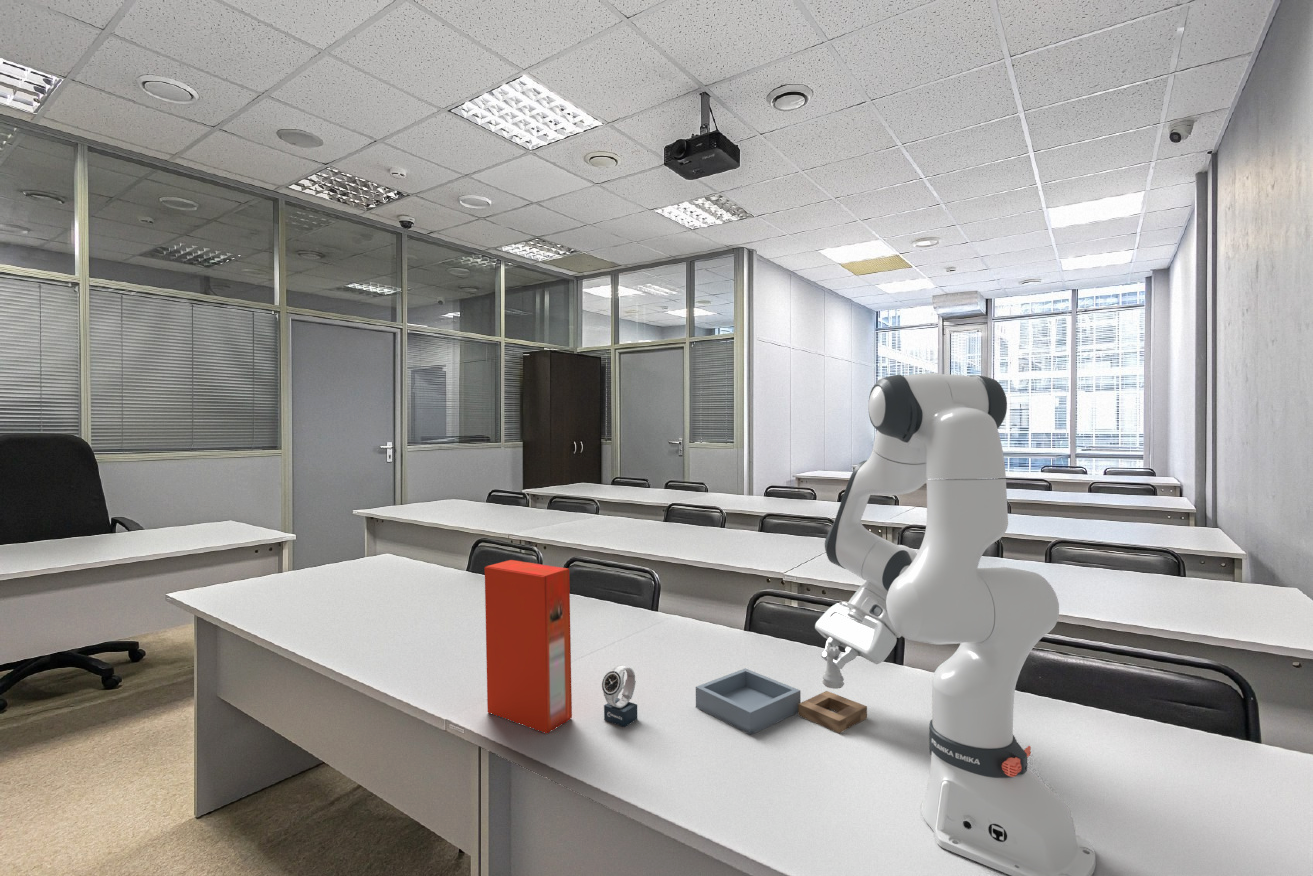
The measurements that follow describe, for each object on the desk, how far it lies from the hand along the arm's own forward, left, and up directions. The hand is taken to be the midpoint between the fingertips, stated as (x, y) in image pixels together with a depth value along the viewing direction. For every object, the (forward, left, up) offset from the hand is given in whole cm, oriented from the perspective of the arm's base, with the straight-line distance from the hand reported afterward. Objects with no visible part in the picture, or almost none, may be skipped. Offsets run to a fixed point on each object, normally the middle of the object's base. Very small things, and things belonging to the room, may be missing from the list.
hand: (830, 662), depth 127 cm
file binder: (+42, +48, -12) cm, 65 cm away
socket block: (0, -1, -12) cm, 12 cm away
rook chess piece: (0, 0, -5) cm, 5 cm away
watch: (+28, +34, -12) cm, 46 cm away
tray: (+14, +10, -12) cm, 21 cm away
